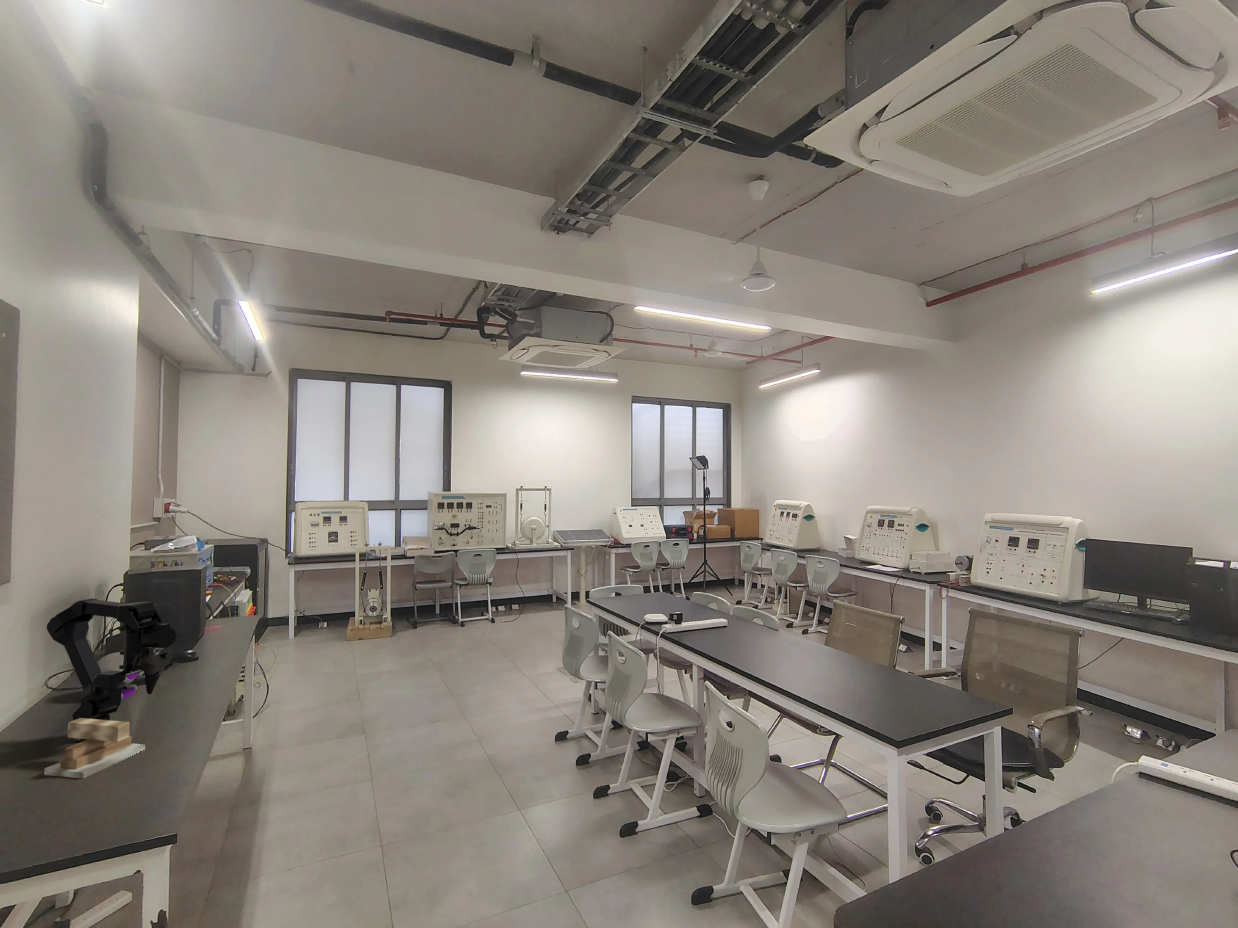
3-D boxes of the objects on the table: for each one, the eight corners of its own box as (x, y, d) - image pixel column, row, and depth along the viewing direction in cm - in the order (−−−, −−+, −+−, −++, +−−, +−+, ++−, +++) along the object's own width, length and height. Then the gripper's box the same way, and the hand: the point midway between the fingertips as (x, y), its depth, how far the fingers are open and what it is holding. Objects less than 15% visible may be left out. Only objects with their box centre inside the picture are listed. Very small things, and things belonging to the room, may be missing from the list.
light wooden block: (67, 737, 151) (68, 722, 152) (79, 732, 154) (80, 717, 155) (117, 741, 149) (118, 726, 149) (129, 736, 152) (129, 721, 152)
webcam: (124, 700, 195) (127, 656, 196) (79, 703, 192) (82, 659, 192) (144, 687, 208) (146, 646, 208) (102, 690, 204) (104, 649, 205)
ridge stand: (44, 774, 144) (45, 748, 145) (109, 746, 160) (110, 723, 160) (83, 778, 143) (84, 752, 143) (145, 749, 158) (146, 726, 159)
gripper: (128, 656, 155) (125, 713, 154) (189, 638, 173) (187, 690, 172) (94, 654, 156) (91, 711, 155) (158, 637, 175) (155, 687, 174)
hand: (134, 699), depth 164 cm, fingers open, 9 cm apart
